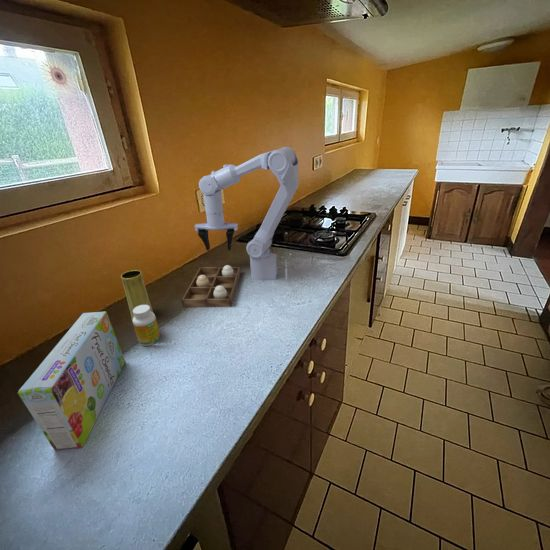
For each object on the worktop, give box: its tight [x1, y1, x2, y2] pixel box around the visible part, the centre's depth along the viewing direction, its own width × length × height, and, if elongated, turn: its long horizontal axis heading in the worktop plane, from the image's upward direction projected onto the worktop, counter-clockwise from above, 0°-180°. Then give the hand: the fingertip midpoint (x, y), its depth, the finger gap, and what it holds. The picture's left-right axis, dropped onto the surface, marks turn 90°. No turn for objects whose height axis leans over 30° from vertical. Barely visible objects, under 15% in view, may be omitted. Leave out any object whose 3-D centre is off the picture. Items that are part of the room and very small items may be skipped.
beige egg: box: [196, 275, 209, 287], centre depth 99 cm, size 4×4×5 cm
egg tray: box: [181, 266, 242, 308], centre depth 100 cm, size 15×22×3 cm
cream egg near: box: [213, 285, 227, 299], centre depth 93 cm, size 4×4×5 cm
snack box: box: [17, 310, 126, 451], centre depth 59 cm, size 21×6×15 cm, turn 5°
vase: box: [120, 269, 154, 322], centre depth 85 cm, size 6×6×14 cm
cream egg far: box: [222, 264, 234, 276], centre depth 105 cm, size 4×4×5 cm
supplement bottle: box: [132, 305, 161, 347], centre depth 77 cm, size 5×5×10 cm
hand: (219, 249), depth 108 cm, fingers open, 7 cm apart
